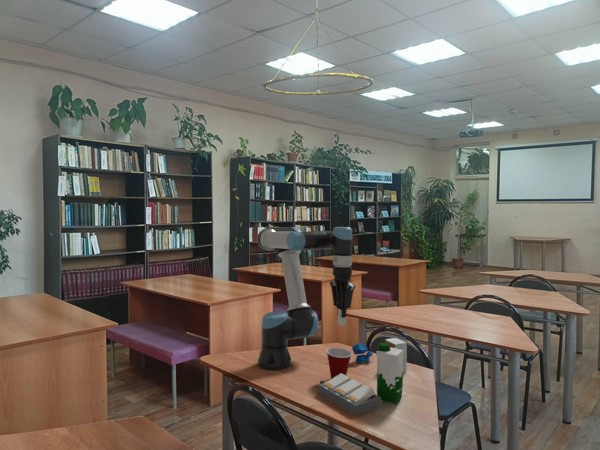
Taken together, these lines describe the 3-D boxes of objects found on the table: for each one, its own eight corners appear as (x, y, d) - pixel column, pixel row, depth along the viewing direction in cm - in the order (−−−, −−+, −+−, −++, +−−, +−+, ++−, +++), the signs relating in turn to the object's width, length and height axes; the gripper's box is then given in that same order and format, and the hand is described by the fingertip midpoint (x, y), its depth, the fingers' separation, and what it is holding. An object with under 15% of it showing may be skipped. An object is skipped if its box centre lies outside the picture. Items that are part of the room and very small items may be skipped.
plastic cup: (350, 386, 167) (351, 356, 166) (323, 384, 169) (324, 354, 168) (353, 376, 177) (353, 348, 177) (327, 374, 179) (327, 346, 179)
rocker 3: (346, 401, 148) (345, 396, 148) (365, 388, 153) (364, 384, 153) (356, 406, 144) (355, 401, 144) (374, 393, 149) (373, 388, 149)
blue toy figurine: (377, 346, 196) (360, 345, 189) (374, 364, 195) (357, 364, 188) (365, 342, 202) (348, 341, 194) (362, 360, 201) (345, 360, 193)
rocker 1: (324, 388, 159) (323, 383, 159) (342, 377, 164) (341, 372, 164) (332, 392, 155) (331, 388, 155) (350, 381, 160) (349, 377, 160)
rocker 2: (335, 393, 154) (334, 388, 154) (353, 383, 159) (352, 378, 158) (343, 398, 150) (343, 393, 149) (362, 388, 155) (361, 383, 154)
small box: (383, 368, 187) (384, 339, 187) (395, 366, 190) (396, 337, 189) (394, 374, 180) (395, 344, 179) (406, 372, 182) (407, 342, 182)
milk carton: (382, 391, 162) (382, 340, 162) (405, 397, 157) (405, 344, 157) (373, 399, 155) (374, 346, 154) (397, 405, 150) (398, 350, 149)
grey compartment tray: (309, 388, 164) (309, 379, 164) (333, 381, 171) (333, 372, 171) (355, 415, 142) (355, 405, 142) (380, 406, 149) (381, 396, 149)
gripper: (324, 264, 169) (324, 322, 170) (345, 268, 158) (345, 330, 159) (339, 263, 173) (338, 320, 174) (360, 267, 163) (359, 327, 163)
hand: (341, 325), depth 167 cm, fingers closed
